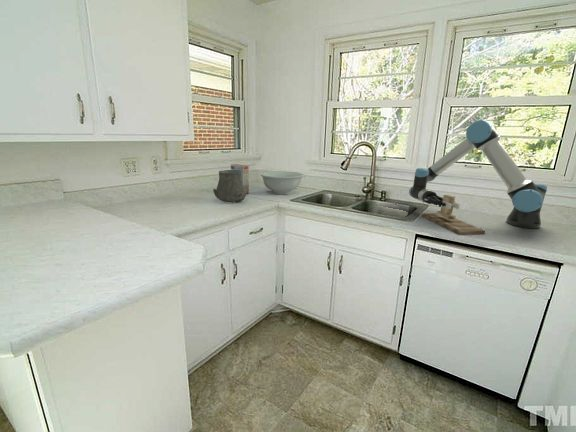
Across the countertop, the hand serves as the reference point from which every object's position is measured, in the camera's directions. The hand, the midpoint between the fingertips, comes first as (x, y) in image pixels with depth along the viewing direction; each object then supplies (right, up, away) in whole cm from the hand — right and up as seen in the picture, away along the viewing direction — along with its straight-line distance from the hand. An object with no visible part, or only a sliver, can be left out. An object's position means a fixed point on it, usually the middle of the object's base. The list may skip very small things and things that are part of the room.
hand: (454, 206), depth 154 cm
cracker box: (-125, +12, +65) cm, 141 cm away
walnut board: (0, -10, +5) cm, 11 cm away
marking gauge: (-1, -6, +7) cm, 9 cm away
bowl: (-93, +13, +71) cm, 118 cm away
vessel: (-126, +4, +39) cm, 132 cm away
